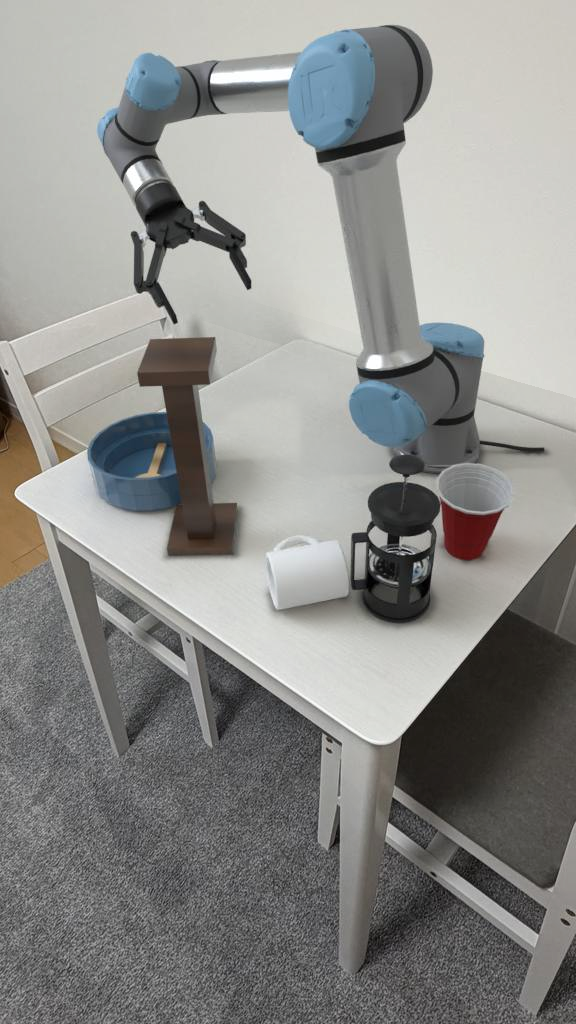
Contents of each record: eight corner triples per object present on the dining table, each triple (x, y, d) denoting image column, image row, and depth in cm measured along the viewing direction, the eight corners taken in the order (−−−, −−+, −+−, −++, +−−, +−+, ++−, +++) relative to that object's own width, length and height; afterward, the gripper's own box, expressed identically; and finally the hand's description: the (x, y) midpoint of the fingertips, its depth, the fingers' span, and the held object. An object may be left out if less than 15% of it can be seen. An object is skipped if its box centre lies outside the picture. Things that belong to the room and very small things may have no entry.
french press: (427, 572, 99) (443, 438, 85) (441, 620, 92) (462, 482, 78) (346, 577, 99) (349, 443, 85) (354, 626, 92) (359, 488, 78)
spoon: (147, 447, 127) (145, 440, 126) (179, 447, 127) (177, 439, 126) (127, 501, 114) (125, 493, 113) (163, 501, 114) (161, 493, 113)
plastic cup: (435, 575, 99) (443, 510, 91) (422, 527, 107) (429, 464, 100) (510, 572, 99) (525, 507, 91) (492, 524, 107) (504, 461, 100)
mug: (349, 608, 94) (350, 565, 89) (278, 622, 93) (275, 579, 88) (325, 552, 104) (325, 511, 99) (261, 564, 102) (257, 523, 97)
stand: (177, 511, 113) (147, 337, 94) (237, 509, 113) (219, 335, 94) (167, 556, 104) (132, 374, 85) (233, 554, 104) (211, 372, 85)
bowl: (221, 442, 129) (217, 410, 125) (210, 512, 112) (206, 478, 108) (110, 446, 130) (102, 413, 125) (83, 515, 113) (73, 481, 109)
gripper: (222, 181, 120) (278, 282, 117) (92, 239, 117) (146, 344, 114) (220, 152, 113) (280, 259, 110) (81, 213, 110) (139, 324, 107)
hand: (212, 302), depth 112 cm, fingers open, 13 cm apart
